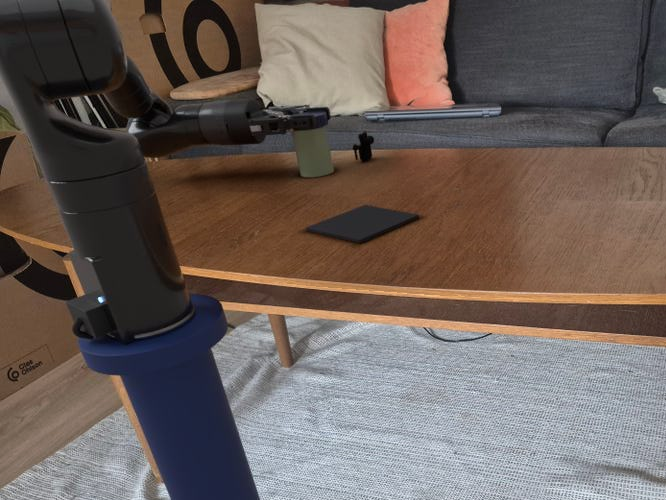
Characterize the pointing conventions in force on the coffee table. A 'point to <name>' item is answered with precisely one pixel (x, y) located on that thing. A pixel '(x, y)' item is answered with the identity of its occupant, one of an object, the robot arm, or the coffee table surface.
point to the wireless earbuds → (364, 147)
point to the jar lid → (319, 116)
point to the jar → (313, 152)
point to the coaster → (362, 223)
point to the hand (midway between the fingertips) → (322, 117)
